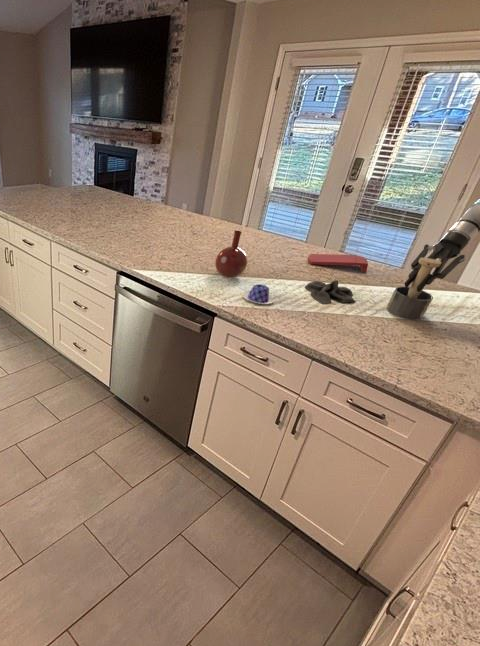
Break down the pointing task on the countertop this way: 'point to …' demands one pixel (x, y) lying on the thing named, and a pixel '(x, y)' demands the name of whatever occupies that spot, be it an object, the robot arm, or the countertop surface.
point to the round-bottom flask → (231, 259)
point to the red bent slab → (338, 260)
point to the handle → (422, 275)
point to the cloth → (329, 292)
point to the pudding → (259, 294)
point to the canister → (408, 304)
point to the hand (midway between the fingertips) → (411, 287)
